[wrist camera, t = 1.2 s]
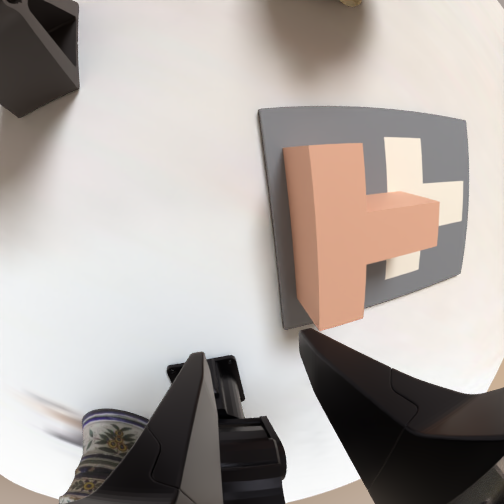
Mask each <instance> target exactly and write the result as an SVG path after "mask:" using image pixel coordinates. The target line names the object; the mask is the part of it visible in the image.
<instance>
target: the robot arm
mask: <svg viewBox="0 0 504 504" xmlns="http://www.w3.org/2000/svg"><path fill="white" fill-rule="evenodd" d="M299 351H300V355H301V358H302V361H303V364H304V366H305V369H306V372H307V374H308V377H309V380H310V382H311V385H312V388H313V390H314V393H315V395H316V397H317V399H318V400H319V402H320V404H321V406H322V408H323V410H324V412H325V413H326V415H327V417H328V419H329V421H330V423H331V424H332V426H333V428H334V430H335V432H336V434H337V436H338V437H339V439H340V441H341V443H342V445H343V446H344V448H345V450H346V452H347V454H348V456H349V457H350V459H351V461H352V463H353V465H354V466H355V468H356V470H357V472H358V474H359V476H360V477H361V479H362V481H363V483H364V485H365V486H366V488H367V489H368V492H369V494H370V496H371V497H372V499H373V501H374V503H375V504H504V388H500V389H497V390H493V391H490V392H486V393H482V394H464V393H460V392H457V391H453V390H450V389H447V388H443V387H440V386H437V385H434V384H431V383H428V382H425V381H422V380H419V379H416V378H414V377H411V376H409V375H407V374H404V373H402V372H400V371H398V370H396V369H393V368H392V369H391V367H389V366H387V365H385V364H383V363H380V362H378V361H376V360H374V359H372V358H370V357H368V356H366V355H364V354H362V353H360V352H358V351H356V350H354V349H352V348H350V347H348V346H346V345H344V344H342V343H340V342H338V341H336V340H334V339H332V338H330V337H328V336H326V335H324V334H322V333H320V332H318V331H316V330H314V329H312V328H309V329H305V330H301V331H300V332H299ZM229 360H232V361H229ZM171 370H174V371H171ZM167 373H168V376H169V378H170V380H171V382H172V385H171V387H170V388H169V390H168V391H167V393H166V395H165V396H164V398H163V399H162V401H161V403H160V404H159V406H158V407H157V409H156V411H155V412H154V414H153V415H152V417H151V419H150V420H149V422H148V423H147V427H145V428H144V430H143V431H142V433H141V434H140V436H139V437H138V439H137V440H136V442H135V443H134V445H133V446H132V448H131V449H130V450H129V452H128V453H127V454H126V456H125V457H124V458H123V459H122V461H121V462H120V463H119V464H118V465H117V467H116V468H115V469H114V470H113V471H112V473H111V474H110V475H109V476H108V477H107V478H106V480H105V481H104V482H103V483H102V484H101V485H100V487H99V488H98V489H97V490H95V491H94V492H93V493H91V494H90V495H88V496H86V497H84V498H82V499H79V500H75V501H72V502H68V503H65V504H285V500H284V495H283V488H282V480H283V479H284V478H285V475H286V468H287V464H286V455H285V451H284V448H283V445H282V443H281V441H280V439H279V438H278V436H277V434H276V432H275V431H274V429H273V427H272V425H271V424H270V422H269V420H268V418H267V416H260V417H259V418H244V414H243V409H242V405H241V402H242V401H244V400H245V396H244V392H243V388H242V384H241V380H240V376H239V371H238V367H237V363H236V359H235V357H234V356H232V355H228V356H223V357H218V358H212V359H206V357H205V354H204V352H196V353H192V354H190V356H189V358H188V359H187V361H186V362H185V363H181V364H174V365H169V366H168V367H167Z"/></svg>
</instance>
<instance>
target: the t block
mask: <svg viewBox="0 0 504 504" xmlns="http://www.w3.org/2000/svg"><path fill="white" fill-rule="evenodd" d="M283 156H284V164H285V173H286V182H287V191H288V200H289V210H290V220H291V231H292V242H293V254H294V266H295V279H296V294H297V299H298V300H299V302H300V303H301V305H302V306H303V308H304V309H305V311H306V312H307V314H308V315H309V317H310V318H311V319H312V321H313V322H314V324H315V325H316V327H317V328H318V330H319V331H322V330H325V329H329V328H332V327H336V326H339V325H343V324H346V323H349V322H352V321H356V320H359V319H362V318H363V314H364V302H365V286H366V265H367V264H371V263H375V262H379V261H383V260H387V259H391V258H394V257H398V256H402V255H406V254H410V253H413V252H417V251H421V250H424V249H428V248H432V247H435V246H437V240H438V227H439V207H440V202H439V201H436V200H432V199H428V198H425V197H421V196H417V195H414V194H410V193H406V192H402V191H396V192H387V193H378V194H370V195H366V182H365V166H364V154H363V143H343V144H323V145H308V146H296V147H286V148H283Z"/></svg>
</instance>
